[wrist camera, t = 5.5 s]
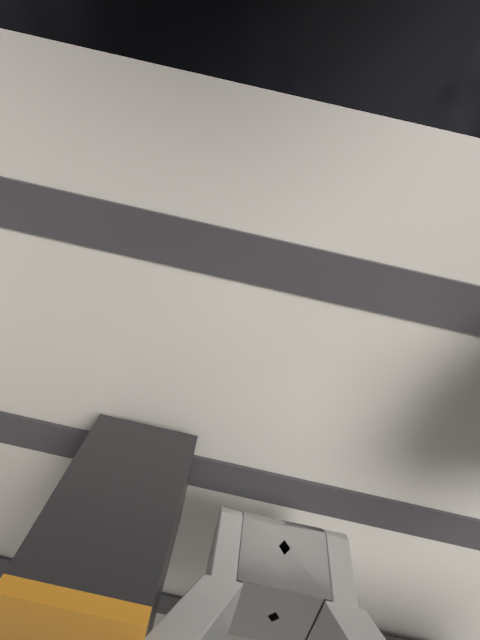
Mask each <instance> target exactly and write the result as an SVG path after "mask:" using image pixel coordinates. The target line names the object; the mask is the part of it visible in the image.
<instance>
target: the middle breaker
mask: <svg viewBox="0 0 480 640" xmlns="http://www.w3.org/2000/svg"><path fill="white" fill-rule="evenodd" d="M197 438H198V436H196V435H191V434H187V433H183V432H178V431H174V430H169V429H165V428H160V427H156V426H152V425H147V424H143V423H138V422H134V421H129V420H125V419H121V418H116V417H112V416H107V415H103V414H100V415H99V417H98V419H97V420H96V422H95V423H94V425H93V427H92V428H91V430H90V432H89V433H88V435H87V437H86V438H85V440H84V442H83V443H82V445H81V447H80V448H79V450H78V451H77V453H76V455H75V456H74V458H73V460H72V461H71V463H70V465H69V466H68V468H67V470H66V471H65V473H64V475H63V476H62V478H61V480H60V481H59V483H58V484H57V486H56V488H55V489H54V491H53V493H52V494H51V496H50V498H49V499H48V501H47V503H46V504H45V506H44V508H43V509H42V511H41V512H40V514H39V516H38V517H37V519H36V521H35V522H34V524H33V526H32V527H31V529H30V531H29V532H28V534H27V536H26V537H25V539H24V540H23V542H22V544H21V545H20V547H19V549H18V550H17V552H16V554H15V555H14V557H13V559H12V560H11V562H10V564H9V565H8V567H7V569H6V570H5V572H4V573H3V575H2V577H1V578H0V640H144V639H145V637H146V636H147V635H148V634H149V633H150V632H151V631H152V629H153V625H154V621H155V617H156V613H157V609H158V606H159V602H160V598H161V594H162V590H163V586H164V582H165V578H166V574H167V570H168V567H169V563H170V559H171V555H172V551H173V547H174V543H175V539H176V535H177V531H178V528H179V524H180V520H181V515H182V510H183V505H184V501H185V496H186V491H187V486H188V482H189V477H190V472H191V467H192V462H193V458H194V453H195V448H196V443H197Z"/></svg>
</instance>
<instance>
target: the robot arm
mask: <svg viewBox="0 0 480 640" xmlns="http://www.w3.org/2000/svg"><path fill="white" fill-rule="evenodd" d="M227 635H233V636H238V637H244V638H249V639H254V640H386V639H385V637H384V636H383V635H382V633H381V632H380V630H379V629H378V627H377V626H376V624H375V623H374V621H373V620H372V618H371V617H370V615H369V614H368V612H367V611H366V610H365V609H362V608H359V607H358V600H357V594H356V587H355V580H354V574H353V567H352V560H351V553H350V547H349V540H348V537H347V535H346V534H343V533H339V532H334V531H329V530H325V529H324V530H323V529H322V528H318V527H313V526H308V525H303V524H298V523H293V522H288V521H283V520H281V521H280V520H276V519H272V518H268V517H264V516H260V515H255V514H251V513H247V512H242V511H239V510H234V509H230V508H226V507H221V508H220V512H219V516H218V520H217V524H216V528H215V532H214V535H213V540H212V544H211V549H210V553H209V558H208V562H207V568H206V574H203V575H202V576H201V577H200V578H199V579H198V580H197V582H196V583H195V584H194V585H193V586H192V587H191V588H190V589H189V590H188V591H187V592H186V594H185V595H184V596H183V597H182V598H181V599H180V600H179V601H178V602H177V603H176V604H175V606H174V607H173V608H172V609H171V610H170V611H169V612H168V613H167V614H166V615H165V616H164V618H163V619H162V620H161V621H160V622H159V623H158V624H157V625H156V626H155V627H154V628H153V630H152V631H151V632H150V633H149V634H148V635H147V636H146V637H145V639H144V640H225V639H226V637H227Z"/></svg>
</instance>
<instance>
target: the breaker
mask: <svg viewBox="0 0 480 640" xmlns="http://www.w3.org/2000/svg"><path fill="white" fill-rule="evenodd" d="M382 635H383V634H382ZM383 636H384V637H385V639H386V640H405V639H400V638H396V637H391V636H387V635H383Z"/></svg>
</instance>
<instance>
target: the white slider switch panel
mask: <svg viewBox="0 0 480 640" xmlns="http://www.w3.org/2000/svg"><path fill="white" fill-rule="evenodd" d="M100 414H103V415H107V416H112V417H116V418H121V419H125V420H129V421H134V422H138V423H143V424H147V425H152V426H156V427H160V428H165V429H169V430H174V431H178V432H183V433H187V434H191V435H196V436H198V438H197V443H196V448H195V453H194V458H193V462H192V467H191V472H190V477H189V482H188V486H187V491H186V496H185V501H184V505H183V510H182V515H181V520H180V524H179V528H178V531H177V535H176V539H175V543H174V547H173V551H172V555H171V559H170V563H169V567H168V570H167V574H166V578H165V582H164V586H163V590H162V594H161V598H160V602H159V606H158V609H157V613H156V617H155V621H154V625H153V628H154V627H155V626H156V625H157V624H158V623H159V622H160V621H161V620H162V619H163V618H164V616H165V615H166V614H167V613H168V612H169V611H170V610H171V609H172V608H173V607H174V606H175V604H176V603H177V602H178V601H179V600H180V599H181V598H182V597H183V596H184V595H185V594H186V592H187V591H188V590H189V589H190V588H191V587H192V586H193V585H194V584H195V583H196V582H197V580H198V579H199V578H200V577H201V576H202V575H203V574H206V568H207V562H208V558H209V553H210V549H211V544H212V540H213V535H214V532H215V528H216V524H217V520H218V516H219V512H220V508H221V507H226V508H230V509H234V510H239V511H242V512H247V513H251V514H255V515H260V516H264V517H268V518H272V519H276V520H280V521H281V520H283V521H288V522H293V523H298V524H303V525H308V526H313V527H318V528H322V529H323V530H324V529H325V530H329V531H334V532H339V533H343V534H346V535H347V537H348V540H349V547H350V553H351V560H352V567H353V574H354V580H355V587H356V594H357V600H358V607H359V608H362V609H365V610H366V611H367V612H368V614H369V615H370V617H371V618H372V620H373V621H374V623H375V624H376V626H377V627H378V629H379V630H380V632H381V633H382V634H383V635H387V636H391V637H396V638H400V639H405V640H480V138H476V137H472V136H467V135H463V134H459V133H454V132H450V131H446V130H441V129H437V128H433V127H428V126H424V125H419V124H415V123H411V122H406V121H402V120H398V119H393V118H389V117H385V116H380V115H376V114H372V113H367V112H363V111H359V110H354V109H350V108H346V107H341V106H337V105H332V104H328V103H324V102H319V101H315V100H311V99H306V98H302V97H298V96H293V95H289V94H285V93H280V92H276V91H272V90H267V89H263V88H259V87H254V86H250V85H245V84H241V83H237V82H232V81H228V80H224V79H219V78H215V77H211V76H206V75H202V74H198V73H193V72H189V71H185V70H180V69H176V68H171V67H167V66H163V65H158V64H154V63H150V62H145V61H141V60H137V59H132V58H128V57H124V56H119V55H115V54H111V53H106V52H102V51H98V50H93V49H89V48H84V47H80V46H76V45H71V44H67V43H63V42H58V41H54V40H50V39H45V38H41V37H37V36H32V35H28V34H24V33H19V32H15V31H11V30H6V29H2V28H0V578H1V577H2V575H3V573H4V572H5V570H6V569H7V567H8V565H9V564H10V562H11V560H12V559H13V557H14V555H15V554H16V552H17V550H18V549H19V547H20V545H21V544H22V542H23V540H24V539H25V537H26V536H27V534H28V532H29V531H30V529H31V527H32V526H33V524H34V522H35V521H36V519H37V517H38V516H39V514H40V512H41V511H42V509H43V508H44V506H45V504H46V503H47V501H48V499H49V498H50V496H51V494H52V493H53V491H54V489H55V488H56V486H57V484H58V483H59V481H60V480H61V478H62V476H63V475H64V473H65V471H66V470H67V468H68V466H69V465H70V463H71V461H72V460H73V458H74V456H75V455H76V453H77V451H78V450H79V448H80V447H81V445H82V443H83V442H84V440H85V438H86V437H87V435H88V433H89V432H90V430H91V428H92V427H93V425H94V423H95V422H96V420H97V419H98V417H99V415H100ZM152 630H153V629H152ZM225 640H254V639H249V638H244V637H238V636H233V635H227V637H226V639H225Z"/></svg>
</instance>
